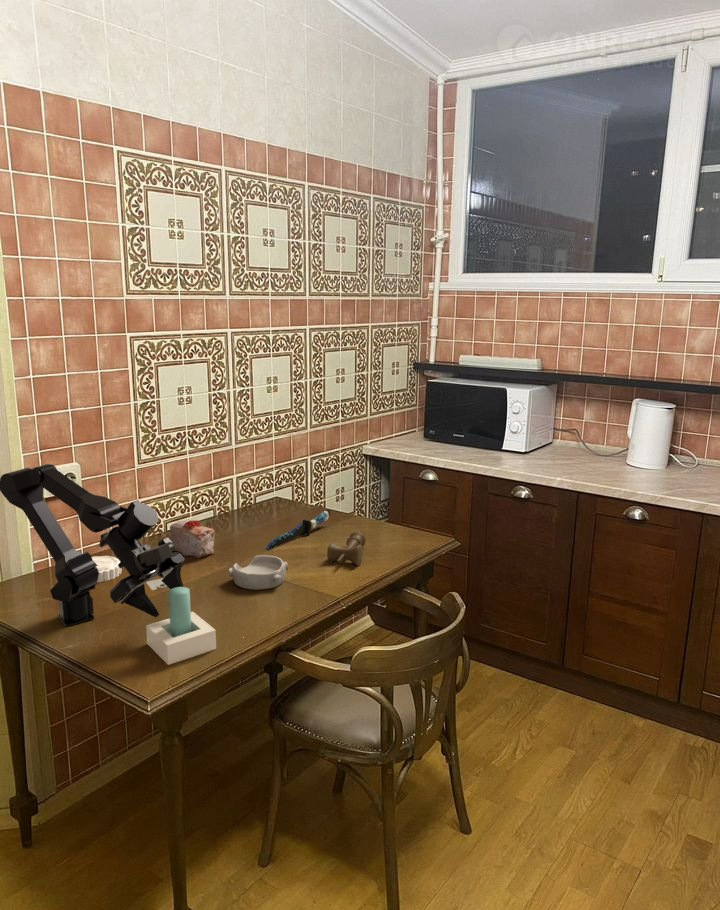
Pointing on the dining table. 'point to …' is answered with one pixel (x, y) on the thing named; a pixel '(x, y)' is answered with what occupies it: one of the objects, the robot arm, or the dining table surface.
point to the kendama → (348, 549)
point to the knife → (299, 530)
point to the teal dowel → (179, 611)
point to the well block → (181, 640)
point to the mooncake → (107, 567)
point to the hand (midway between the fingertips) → (171, 607)
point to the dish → (260, 573)
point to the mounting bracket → (156, 584)
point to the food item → (192, 538)
